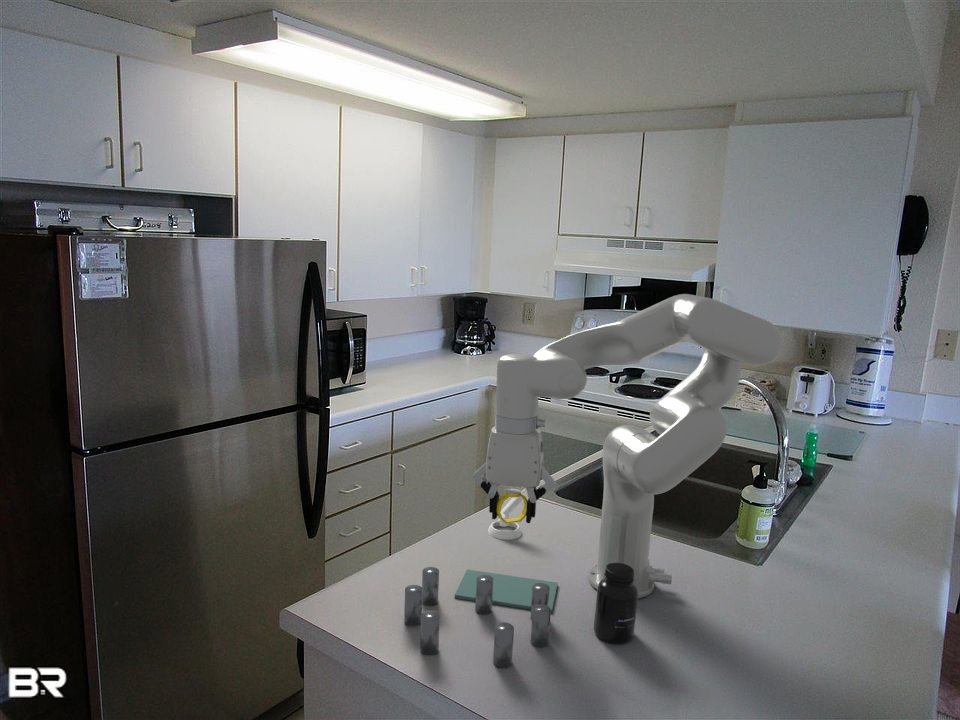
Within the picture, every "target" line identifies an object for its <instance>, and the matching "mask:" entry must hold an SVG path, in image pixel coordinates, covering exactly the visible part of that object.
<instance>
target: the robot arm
mask: <svg viewBox="0 0 960 720" xmlns="http://www.w3.org/2000/svg"><path fill="white" fill-rule="evenodd" d="M685 342H686V343H690V344H693V345H697V346H699V347H702V349H703V351H702V355H701V359H700V361H699V363H698V365H697V366H696V368H695V369H694V370H693V371H692V372H691V373H690V374H689V375H687V377H685V378H684V379H682V381H680V382H679V383H677V385H675V386H674V387H672V388H671V390H669V391H668V392H667V393H666V394H665V395H663V396H662V397H661V398H660V399H658V400H657V401H656V403H655V404H654V405H653V406H652V408H651V410H650V412H649V422H650V425H651V426H652V428H653V429H654V431H656V432H657V434H659V436H658V437H657V436H656V435H654V434H653V433H651V432H649V431H647V430H646V429H644V428H642V427H640V426H638V425H633V424H623V425H619V426H617V427H615V428H613V429H612V430H611V431H610V432H609V433H608V434H607V436H606V438H605V440H604V443H603V445H602V446H603V447H602V470H603V471H602V472H603V495H602V497H603V498H602V507H601V518H600V520H601V521H600V531H599V541H598V544H599V545H598V553H597V554H598V556H597V565H595V566H593V567H591V569H590V570H589V571H588V582H589V584H590V585H591V586H592V587H593V588H594V589H595V590H597V588H598V584H599V582H600V581H601V580H602V579H604V573H605V568H606V565H608V564H609V563H623V564H626V565H628V566H630V567H631V568H633V569H634V582H633V583H634V584H635V585H636V587H637V589H638V599H641V598H645V597H647V596H649V595H650V594H651V593H652V592H653V591H654V588H655V583H660V584H662V585H663V584H664V585H672V579H673V578H672V577H673V576H672V573H665V568H662V567H653V565H650V559H649V556H650V545H651V544H650V542H651V535H652V526H653V525H652V523H653V516H654V515H653V513H654V504H655V495H660V494H663V493H666V492H668V491H669V490H672V489H673V488H674V487H677V485H678V484H680V483H681V482H682V481H684V479H686V478H687V477H688V476H690V475H691V474H692V473H693V472H694V471H696V470H698V468H699V467H700V466H702V465H703V464H704V463H705V462H706V461H708V459H710V458H711V457H712V456H713V455H714V454H716V452H718V450H719V449H720V448H721V446H722V444H723V442H724V441H725V438H726V435H727V432H728V431H727V429H728V428H727V427H728V425H727V421H726V417H725V415H724V414H723V412H722V411H721V410H720V409H722V408H723V407H724V406H725V405H726V404H727V403H728V402H729V401H730V400H731V399H732V398H733V397H734V395H735V394H736V392H737V389H738V386H739V384H740V377H741V367H742V364H744V365H746V366H750V367H763V366H766V365H769V364H770V363H772V362H773V361H775V360H776V359H777V357H778V356H779V354H780V352H781V350H782V347H783V338H782V335H781V333H780V330H779V329H778V328H777V327H776V325H774V324H773V323H772V322H770V321H769V320H767V319H763V318H761V317H759V316H756V315H754V314H751V313H748V312H745V311H743V310H741V309H738V308H736V307H733V306H730V305H728V304H726V303H725V302H722V301H720V300H717V299H714V298H711V297H705V296H702V295H701V296H700V295H695V294H691V293H690V294H689V293H682V294H680V293H679V294H677V295H673V296H671V297H668V298H666V299H664V300H662V301H660V302H657V303H655V304H653V305H650V306H649V307H647V308H644V309H643V310H640V311H638V312H636V313H634V314H631V315H629V316H627V317H624V318H622V319H620V320H618V321H615V322H611V323H607V324H606V323H605V324H603V325H600V326H597V327H593V328H590V329H589V328H588V329H585V330H582V331H578V332H575V333H572V334H570V335H567V336H566V337H565V336H564V337H562V338H560V339H558V340H557V341H553V342H552V343H549V344H548V345H546V346H543V347H542V348H540V349H539V350H538V351H536V352H535V353H534V354H533V355H529V354H521V353H509V354H505V355H502V356H501V357H500V358H499V359H498V361H497V363H496V364H497V366H496V368H497V369H496V388H495V389H496V392H495V417H494V419H495V422H494V423H495V424H494V426H493V427H492V428H491V431H490V433H489V440H488V445H487V450H486V451H487V452H486V459H485V460H486V461H485V462H484V463H483V464H482V465H481V466H480V467H479V468H478V469H477V470H476V471H475V472H473V475H472V479H473V480H474V481H475V482H476V483H477V484H478V485H479V486H480V487H481V489H482V490H483V491H484V493H486V494H487V497H488V498H489V504H488V505H489V508H488V509H489V513H491V520H496V519H497V518H498V515H497V512H496V509H497V502H498V501H499V499H500V494H499V491H498V489H499V487H500V486H508V487H509V486H510V487H518V488H519V487H520V488H525V490H526V493H527V495H528V499H527V500H528V501H527V511H526V516H525V522H526V523H527V524H531V521H532V518H536V511H537V510H536V509H537V501H538V500H540V498H542V497H543V496H544V495H545V494H546V493H547V492H550V491H551V490H552V489H553V488H554V487H556V484H557V483H556V480H555V479H554V478H553V477H552V475H551V474H550V473H549V472H548V471H547V469H546V468H545V466H544V446H543V444H544V443H543V436H542V435H543V434H542V430H540V428H545V427H546V419H542V418H540V417H539V414H538V411H539V398H548V399H556V400H557V399H558V400H568V399H569V400H570V399H572V398H576V397H577V396H579V395H580V394H581V393H582V392H583V390H584V389H585V388H586V385H587V382H588V381H587V380H588V377H587V372H586V370H587V369H592V368H595V367H600V366H630V365H636V364H637V365H638V364H640V363H642V362H645V361H647V360H648V359H651V358H652V357H654V356H657V355H659V354H661V353H663V352H665V351H667V350H670V349H671V348H674V347H677V346H678V345H680V344H682V343H685ZM484 475H485V477H484ZM541 480H543V482H544V483H543V485H541V486H540V484H541ZM538 486H539V487H538ZM537 487H538V488H537Z"/></svg>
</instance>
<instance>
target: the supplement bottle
mask: <svg viewBox="0 0 960 720" xmlns="http://www.w3.org/2000/svg"><path fill="white" fill-rule="evenodd" d="M633 582H634V569H633V568H631V567H630V566H628V565H626V564H623V563H609V564H608V565H606V568H605V573H604V579H602V580H601V581H600V582H599V584H598V588H597V589H596V598H595V600H596V601H595V606H594V607H595V609H594V620H593V631H594V633H595V635H596V636H597V637H598V638H599V639H600V640H602V641H604V642H606V643H608V644H614V645H621V644H622V645H624V644H627V643H629V642H630V641H631V640H632V639H633V637H634V634H635V626H636V618H637V608H638V599H639V598H638V589H637V587H636V585H635V584H634V583H633Z"/></svg>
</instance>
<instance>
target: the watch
mask: <svg viewBox="0 0 960 720" xmlns="http://www.w3.org/2000/svg"><path fill="white" fill-rule="evenodd" d="M521 493H522V491H521V490H520V489H517V488H508V489H506V490H505V493H504V494H502V495H501V497H500V496H499V501H498V502H497V509H496V512H497V515H498V516H497V518H498V519H499V518H500V519H501V520H502V521H503V522H505V523H506V524H507V523H513V522H515V523H521V522H522V521H523V520H524V519H526V511H527V501H528V499H527V497H526V496H525V495H524V494H523V493H522V494H521ZM520 496H521V497H522V498H523V500H522V501H523V509H522V511H521V513H520V514H519V515H518V516H516V517H512V518H509V519H504V518H502V515H501V510H502V506H503V504H504V502H505V501H506V500H507V499H509V498H516V497H520Z"/></svg>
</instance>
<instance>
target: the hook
mask: <svg viewBox="0 0 960 720" xmlns="http://www.w3.org/2000/svg"><path fill="white" fill-rule="evenodd" d="M521 494H523V493H522V492H521ZM522 501H524V500H523V498H522V497H521V496H520V497H516V498H513V497H511V499H510V500H509V501H508V502H507V503H506V505H505V506H504V507H503V508H501V515H502V518H504V519H510V517H509V516H510V514H511V513H512V512H513V511H514V510H515V508H517V506H518V505H519V504H521V502H522ZM495 527H496V528H495ZM497 527H503V528H505V527H511V528H514V529H513V530H506V531H505V530H500V529H497ZM487 533H488V535H489V536H491V537H492V538H493V539H498V540H502V541H504V540H509V541H510V540H516V539H518V538H520V537H522V529H521V527H520V525H519V523H518V522H513V523H507V524H506V523H505V522H503V521H502V520H501V519H500V518H499V517H498V520H495V521H493V522H491V524H490V525H489V527H488V530H487Z"/></svg>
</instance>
